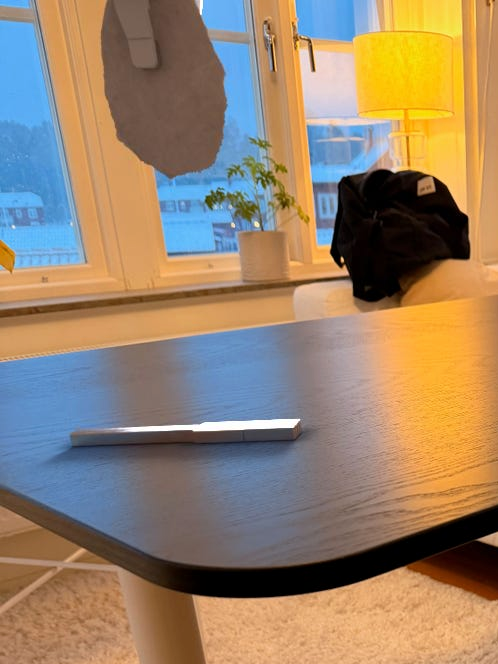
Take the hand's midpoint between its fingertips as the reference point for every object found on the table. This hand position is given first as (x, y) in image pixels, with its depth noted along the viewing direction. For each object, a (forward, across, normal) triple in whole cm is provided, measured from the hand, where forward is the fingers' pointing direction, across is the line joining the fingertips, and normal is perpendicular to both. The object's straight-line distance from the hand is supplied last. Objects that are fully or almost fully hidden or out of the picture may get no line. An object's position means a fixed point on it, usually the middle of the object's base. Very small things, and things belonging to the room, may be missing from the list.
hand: (155, 72), depth 68 cm
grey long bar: (+26, -9, 0) cm, 28 cm away
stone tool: (+8, 0, -1) cm, 8 cm away
